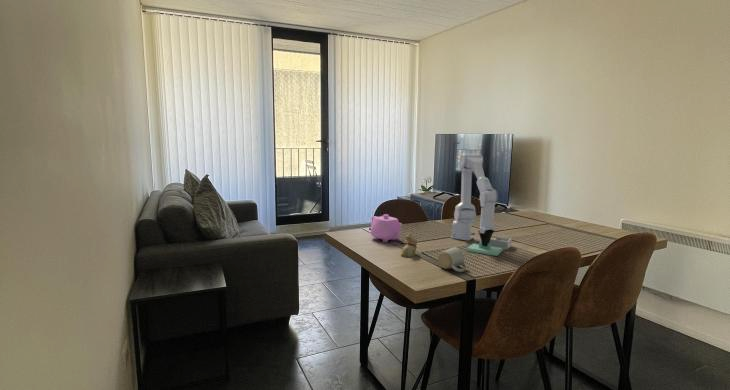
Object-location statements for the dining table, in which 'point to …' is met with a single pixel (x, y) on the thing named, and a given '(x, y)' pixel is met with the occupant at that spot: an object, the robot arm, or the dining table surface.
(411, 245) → the chocolate bunny
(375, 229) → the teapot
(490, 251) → the lid
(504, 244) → the box
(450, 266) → the ceramic mug
